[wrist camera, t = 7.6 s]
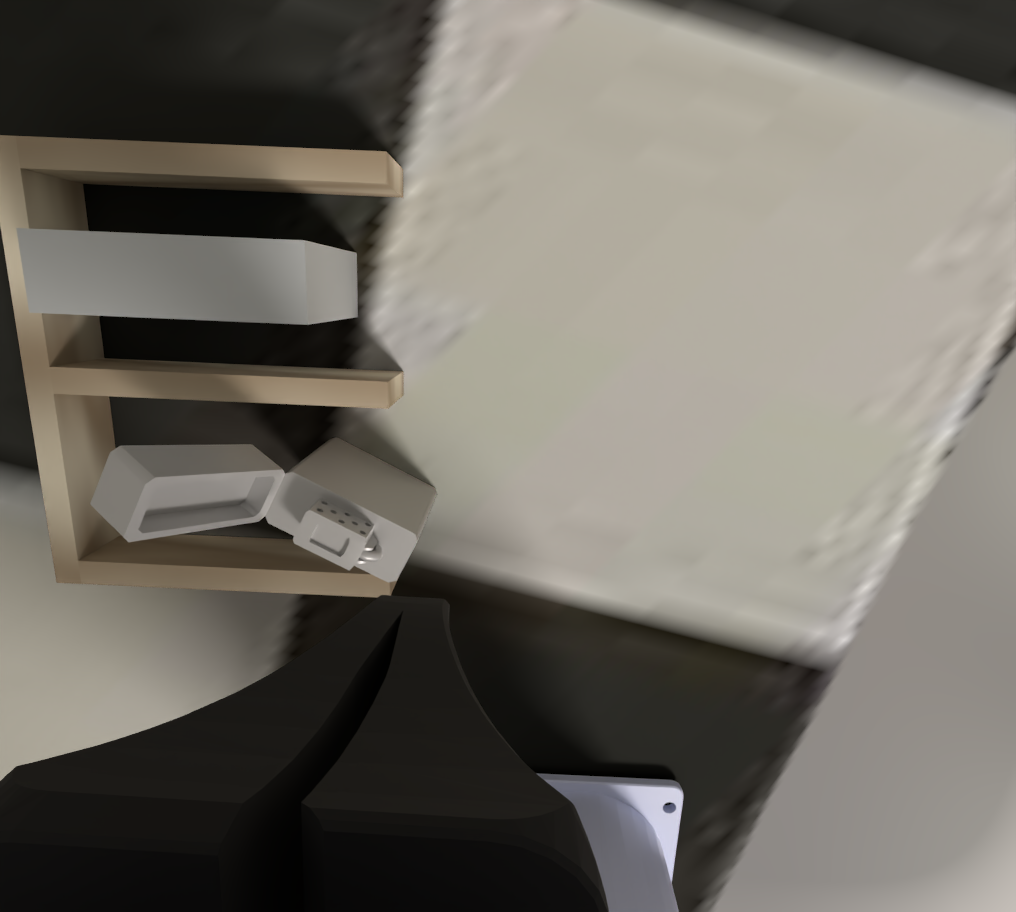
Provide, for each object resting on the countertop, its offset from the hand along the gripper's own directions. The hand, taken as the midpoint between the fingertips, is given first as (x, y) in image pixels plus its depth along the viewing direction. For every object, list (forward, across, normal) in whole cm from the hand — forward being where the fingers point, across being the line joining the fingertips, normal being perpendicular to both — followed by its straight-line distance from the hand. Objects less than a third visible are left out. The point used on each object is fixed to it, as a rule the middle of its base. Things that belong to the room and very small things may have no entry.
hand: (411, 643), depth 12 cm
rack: (+10, +7, -3) cm, 13 cm away
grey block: (+10, +7, -6) cm, 14 cm away
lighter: (+10, +4, 0) cm, 11 cm away
